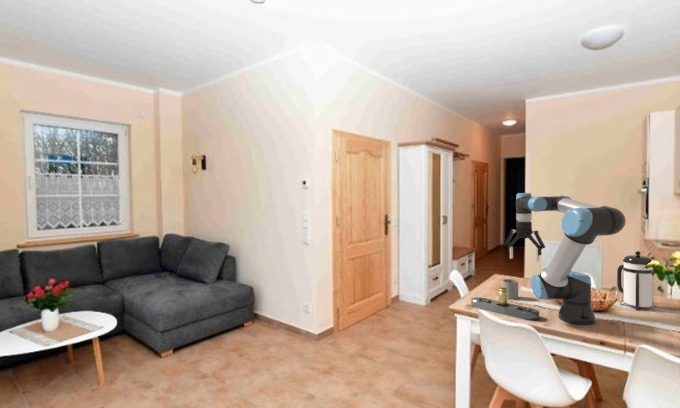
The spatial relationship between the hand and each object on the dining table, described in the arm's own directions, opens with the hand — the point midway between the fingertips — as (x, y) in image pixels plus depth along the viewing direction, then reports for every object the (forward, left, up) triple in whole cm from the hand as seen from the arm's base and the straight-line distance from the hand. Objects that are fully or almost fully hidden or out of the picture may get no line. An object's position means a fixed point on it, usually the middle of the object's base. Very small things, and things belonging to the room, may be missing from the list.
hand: (524, 259), depth 199 cm
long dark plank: (+4, +17, -25) cm, 31 cm away
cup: (+12, -10, -26) cm, 30 cm away
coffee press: (-41, -40, -26) cm, 63 cm away
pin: (+4, +17, -25) cm, 31 cm away
